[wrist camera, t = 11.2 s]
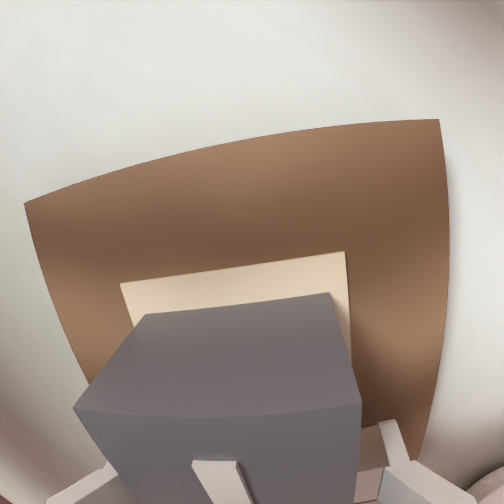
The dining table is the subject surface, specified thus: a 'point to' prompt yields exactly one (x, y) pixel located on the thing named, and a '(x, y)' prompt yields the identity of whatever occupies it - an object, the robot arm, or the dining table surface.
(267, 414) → the socket block
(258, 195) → the pin board
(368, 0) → the dining table surface
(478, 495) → the salad plate
